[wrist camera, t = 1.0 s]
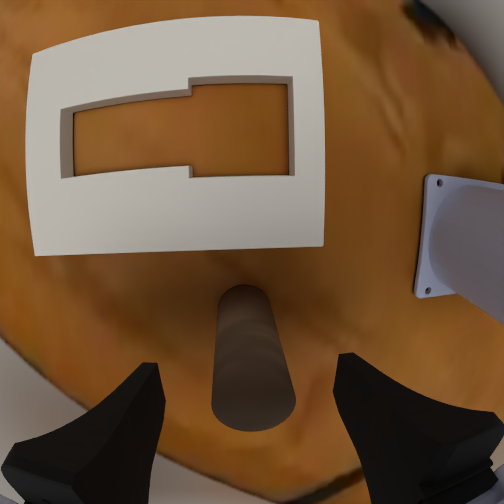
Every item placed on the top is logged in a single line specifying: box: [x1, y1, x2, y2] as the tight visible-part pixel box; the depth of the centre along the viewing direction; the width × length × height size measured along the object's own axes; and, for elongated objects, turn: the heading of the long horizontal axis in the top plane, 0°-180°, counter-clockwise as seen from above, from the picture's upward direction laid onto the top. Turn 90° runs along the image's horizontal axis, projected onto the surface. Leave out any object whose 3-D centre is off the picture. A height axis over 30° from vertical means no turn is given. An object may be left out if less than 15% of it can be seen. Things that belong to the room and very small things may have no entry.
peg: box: [211, 285, 296, 432], centre depth 14 cm, size 3×3×8 cm
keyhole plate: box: [26, 16, 325, 256], centre depth 14 cm, size 16×12×2 cm
